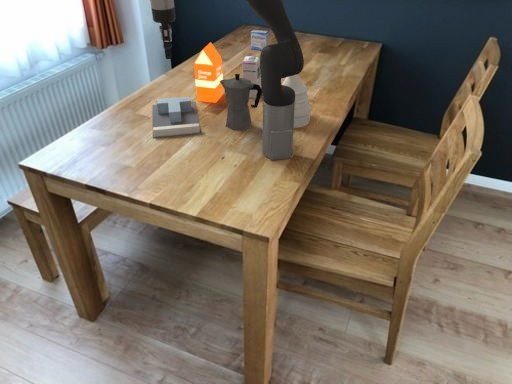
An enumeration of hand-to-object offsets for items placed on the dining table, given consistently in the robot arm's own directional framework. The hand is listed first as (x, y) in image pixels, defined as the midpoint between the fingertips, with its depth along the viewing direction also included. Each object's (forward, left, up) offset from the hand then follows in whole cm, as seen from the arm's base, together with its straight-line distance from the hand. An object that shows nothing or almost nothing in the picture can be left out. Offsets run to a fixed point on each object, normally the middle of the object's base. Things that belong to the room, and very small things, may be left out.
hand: (168, 54), depth 155 cm
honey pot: (-22, -40, -18) cm, 49 cm away
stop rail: (-25, 0, -18) cm, 31 cm away
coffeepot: (-23, -22, -18) cm, 37 cm away
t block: (-11, 0, -18) cm, 21 cm away
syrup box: (+1, -30, -18) cm, 35 cm away
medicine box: (+55, -44, -18) cm, 73 cm away
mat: (-14, 0, -18) cm, 23 cm away
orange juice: (+2, -14, -18) cm, 23 cm away
